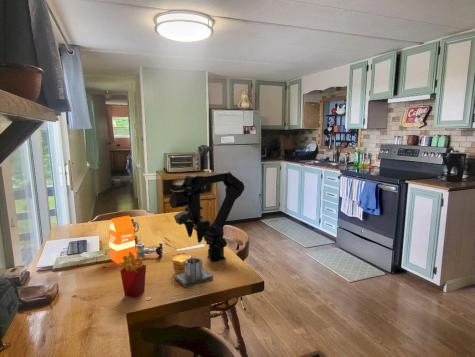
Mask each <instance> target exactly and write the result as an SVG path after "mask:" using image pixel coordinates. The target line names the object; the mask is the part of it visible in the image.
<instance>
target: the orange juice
mask: <svg viewBox="0 0 475 357" xmlns="http://www.w3.org/2000/svg"><path fill="white" fill-rule="evenodd" d="M108 227H109V228H108V239H109V240H108V242H109V244H108V245H109V255H110V256H109V257H110V258H111V259H110V260H111V261H113V262H115V263H116V264H122V263H124V260H123V259H122V258H123V257H124V256H127V257H128V255H130V254H129V252H131V253H132V254H133V255H134V257H135V258H136V255H137V254H136V240H135V236H136V235H135V227H134V224H133V222H132V218H131V216H130V215H125V216H119V217H113V218H111V220H110V223H109V226H108ZM136 259H137V258H136ZM130 260H131V258H130ZM131 261H132V260H131Z"/></svg>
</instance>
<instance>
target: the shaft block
mask: <svg viewBox="0 0 475 357" xmlns="http://www.w3.org/2000/svg"><path fill="white" fill-rule="evenodd" d="M202 271H203V275H202V277H201V278H198V279H187V278H186V277H185V272H181V273H178V274H175V275H174V276H175V280H176V281H177V282H179V284H180V285H182V287H184V288H188V287H192V286H195V285H198V284H202V283H205V282H209V281H212V280H214V279H213V278H214V277H213V274H211V273H210V272H208V271H207V270H206V269H205V268H203V267H202Z"/></svg>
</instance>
